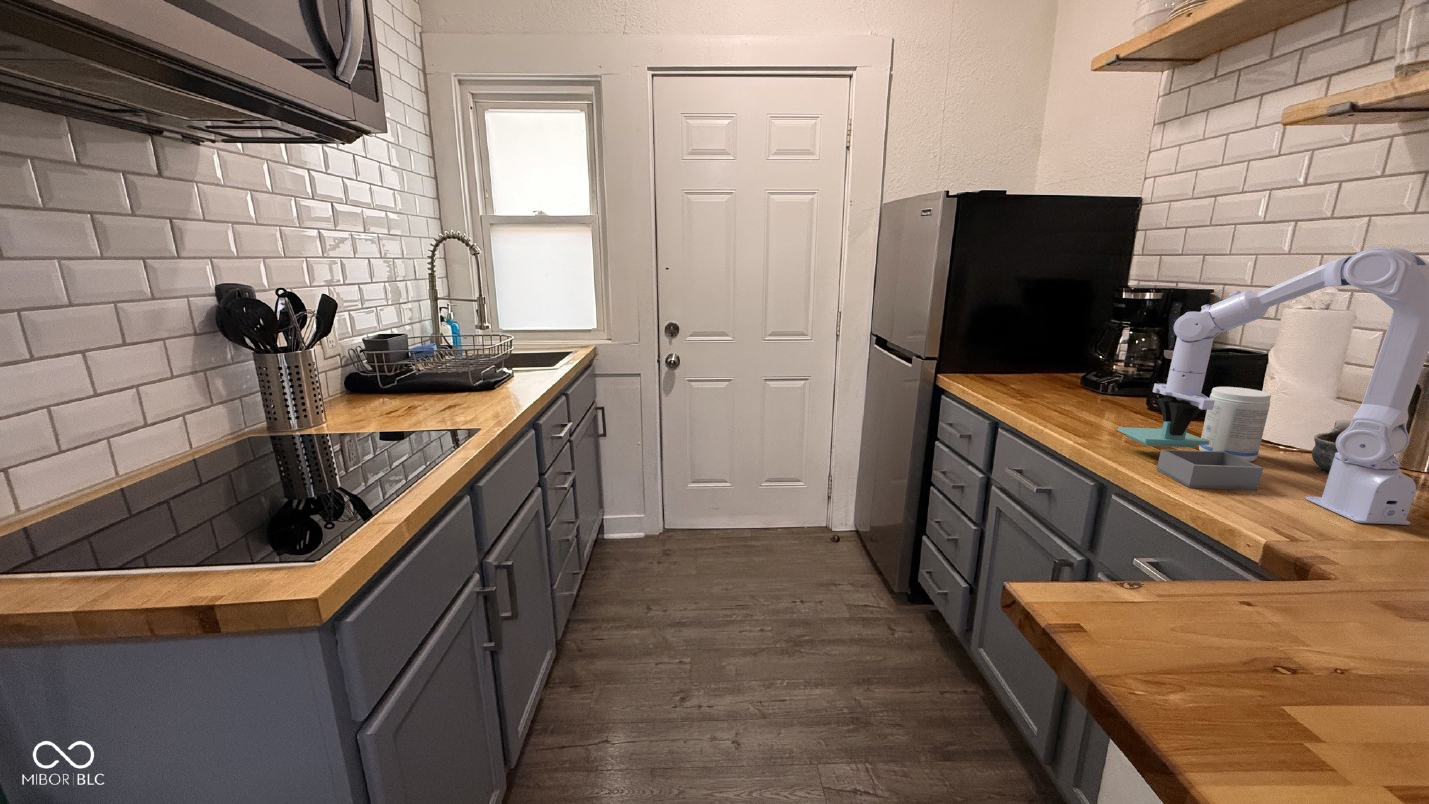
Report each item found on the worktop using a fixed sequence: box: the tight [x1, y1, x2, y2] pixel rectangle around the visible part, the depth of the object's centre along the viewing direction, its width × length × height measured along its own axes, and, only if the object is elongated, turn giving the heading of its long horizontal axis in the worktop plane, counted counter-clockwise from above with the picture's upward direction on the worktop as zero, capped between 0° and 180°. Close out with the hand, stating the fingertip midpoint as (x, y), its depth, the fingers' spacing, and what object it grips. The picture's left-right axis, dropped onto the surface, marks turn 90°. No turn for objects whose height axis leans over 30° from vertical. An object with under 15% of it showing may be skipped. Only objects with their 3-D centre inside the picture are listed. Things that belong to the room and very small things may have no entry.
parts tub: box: [1156, 449, 1264, 491], centre depth 108 cm, size 9×12×4 cm
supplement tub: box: [1198, 386, 1272, 463], centre depth 120 cm, size 10×10×15 cm
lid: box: [1117, 421, 1209, 448], centre depth 121 cm, size 9×12×5 cm
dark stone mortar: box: [1311, 419, 1352, 473], centre depth 113 cm, size 10×12×10 cm
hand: (1173, 433), depth 117 cm, fingers closed on lid
